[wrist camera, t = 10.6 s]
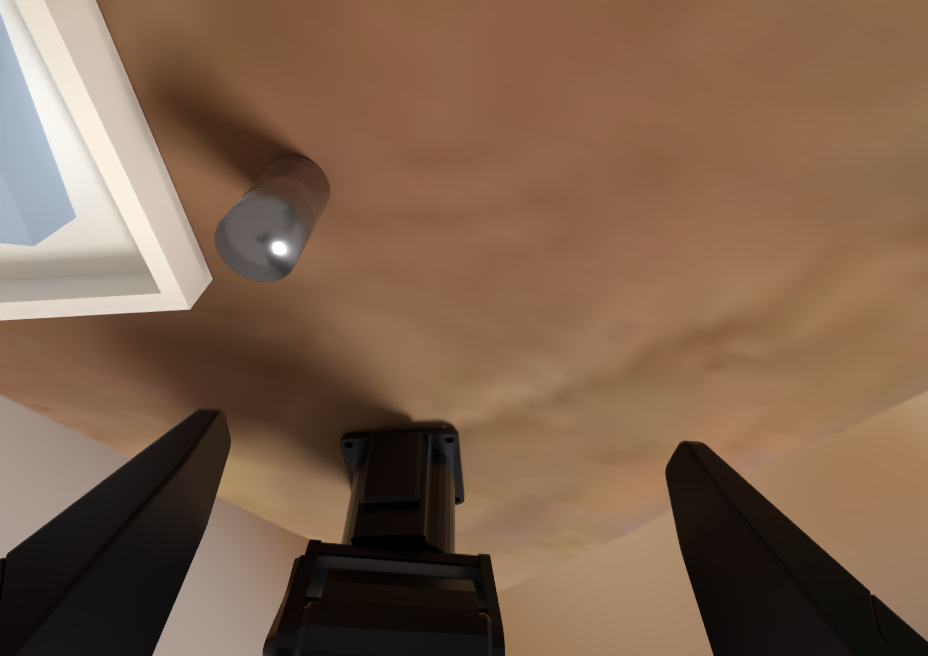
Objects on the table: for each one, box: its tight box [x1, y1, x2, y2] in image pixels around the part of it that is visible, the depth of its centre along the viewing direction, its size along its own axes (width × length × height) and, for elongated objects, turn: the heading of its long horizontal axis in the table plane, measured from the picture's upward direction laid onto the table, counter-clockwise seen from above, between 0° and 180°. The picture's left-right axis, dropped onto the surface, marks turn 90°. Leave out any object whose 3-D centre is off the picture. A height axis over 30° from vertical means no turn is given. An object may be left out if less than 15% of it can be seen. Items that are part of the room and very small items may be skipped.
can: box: [215, 155, 330, 282], centre depth 17 cm, size 2×2×5 cm
